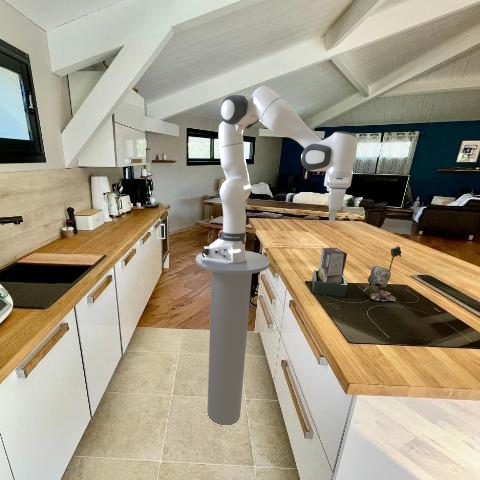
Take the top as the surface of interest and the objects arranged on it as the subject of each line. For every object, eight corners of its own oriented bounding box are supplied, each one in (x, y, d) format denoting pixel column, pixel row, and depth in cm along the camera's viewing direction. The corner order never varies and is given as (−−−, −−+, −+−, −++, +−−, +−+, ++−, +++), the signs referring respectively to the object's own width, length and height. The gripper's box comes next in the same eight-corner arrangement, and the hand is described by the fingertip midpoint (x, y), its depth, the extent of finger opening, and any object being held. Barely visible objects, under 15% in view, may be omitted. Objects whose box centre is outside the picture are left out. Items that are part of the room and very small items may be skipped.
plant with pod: (362, 291, 124) (374, 242, 117) (396, 297, 119) (409, 246, 112) (361, 298, 118) (373, 247, 110) (396, 305, 113) (411, 251, 105)
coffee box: (340, 292, 123) (348, 253, 117) (324, 292, 123) (331, 253, 117) (330, 284, 132) (337, 247, 126) (315, 284, 132) (321, 247, 126)
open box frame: (312, 293, 123) (314, 281, 121) (311, 281, 135) (313, 270, 134) (344, 297, 119) (347, 285, 117) (340, 284, 132) (343, 273, 130)
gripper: (327, 179, 123) (321, 215, 128) (329, 182, 105) (322, 223, 110) (344, 180, 121) (338, 216, 126) (349, 183, 103) (342, 225, 108)
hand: (331, 219), depth 118 cm, fingers open, 8 cm apart
